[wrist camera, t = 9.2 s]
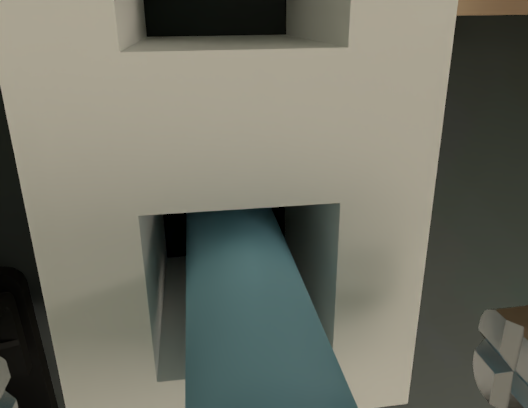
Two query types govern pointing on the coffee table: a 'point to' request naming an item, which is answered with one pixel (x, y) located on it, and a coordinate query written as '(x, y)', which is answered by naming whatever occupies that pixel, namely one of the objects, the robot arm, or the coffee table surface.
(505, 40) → the coffee table surface
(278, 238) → the pin
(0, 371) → the robot arm
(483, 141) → the coffee table surface
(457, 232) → the coffee table surface
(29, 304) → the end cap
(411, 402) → the coffee table surface
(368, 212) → the white cinder block
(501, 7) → the mount block
